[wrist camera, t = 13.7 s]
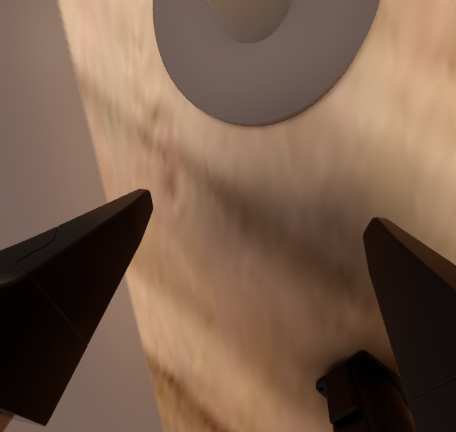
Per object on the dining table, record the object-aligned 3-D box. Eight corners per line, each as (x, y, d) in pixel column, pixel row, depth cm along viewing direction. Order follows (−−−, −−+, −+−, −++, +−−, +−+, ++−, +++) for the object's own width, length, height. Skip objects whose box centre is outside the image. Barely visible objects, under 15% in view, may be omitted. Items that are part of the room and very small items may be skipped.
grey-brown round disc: (437, -52, 13) (460, -86, 11) (276, 163, 19) (273, 164, 17) (235, -175, 15) (225, -222, 13) (139, 61, 20) (123, 52, 18)
